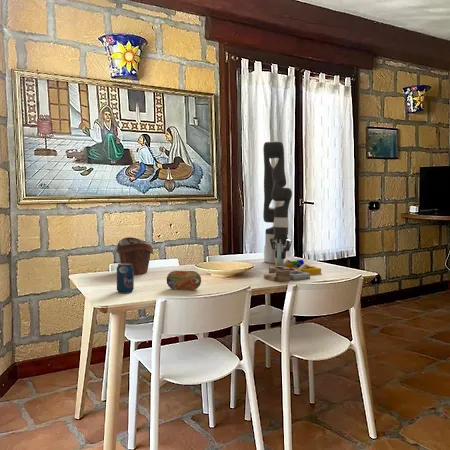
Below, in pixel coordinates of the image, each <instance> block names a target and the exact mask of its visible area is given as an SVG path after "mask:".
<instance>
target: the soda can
mask: <svg viewBox="0 0 450 450" xmlns="http://www.w3.org/2000/svg"><path fill="white" fill-rule="evenodd" d="M134 276H135V275H134V268H133V266H132V263H121V262H119V263H118V265H117V266H116V290H117V292H118V293H119V294H130V293H133V291H134V288H135V287H134V285H135V282H134V279H135V277H134Z"/></svg>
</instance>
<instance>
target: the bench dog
mask: <svg viewBox="0 0 450 450" xmlns="http://www.w3.org/2000/svg"><path fill="white" fill-rule="evenodd" d="M290 281H291V279H290V271H289V270H278V271H276V281H275V282H278V283H284V282H290Z"/></svg>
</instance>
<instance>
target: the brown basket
mask: <svg viewBox="0 0 450 450" xmlns="http://www.w3.org/2000/svg"><path fill="white" fill-rule="evenodd" d="M116 253H117V254H118V257H119V261H120V262H119V263H132V266H133V268H134V276H135V275H136V276H137V275H145V274H147V273H148V271H149V266H150V265H149V264H150V260H151V255H153V256H154V249H153V246H152V244H151V243H149V242H147V241H145V240H143V239H140V238H136V237H130V236H129V237H127V236H126V237H124V238H121V239H120V240H119V241H118V243H117V246H116Z"/></svg>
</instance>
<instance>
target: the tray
mask: <svg viewBox="0 0 450 450" xmlns="http://www.w3.org/2000/svg"><path fill="white" fill-rule="evenodd" d="M310 276H311V275H310V273H306V272H302V271H298V270H295V271H290V281H291V280H292V281H300V280H309V279H310V278H311V277H310Z"/></svg>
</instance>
